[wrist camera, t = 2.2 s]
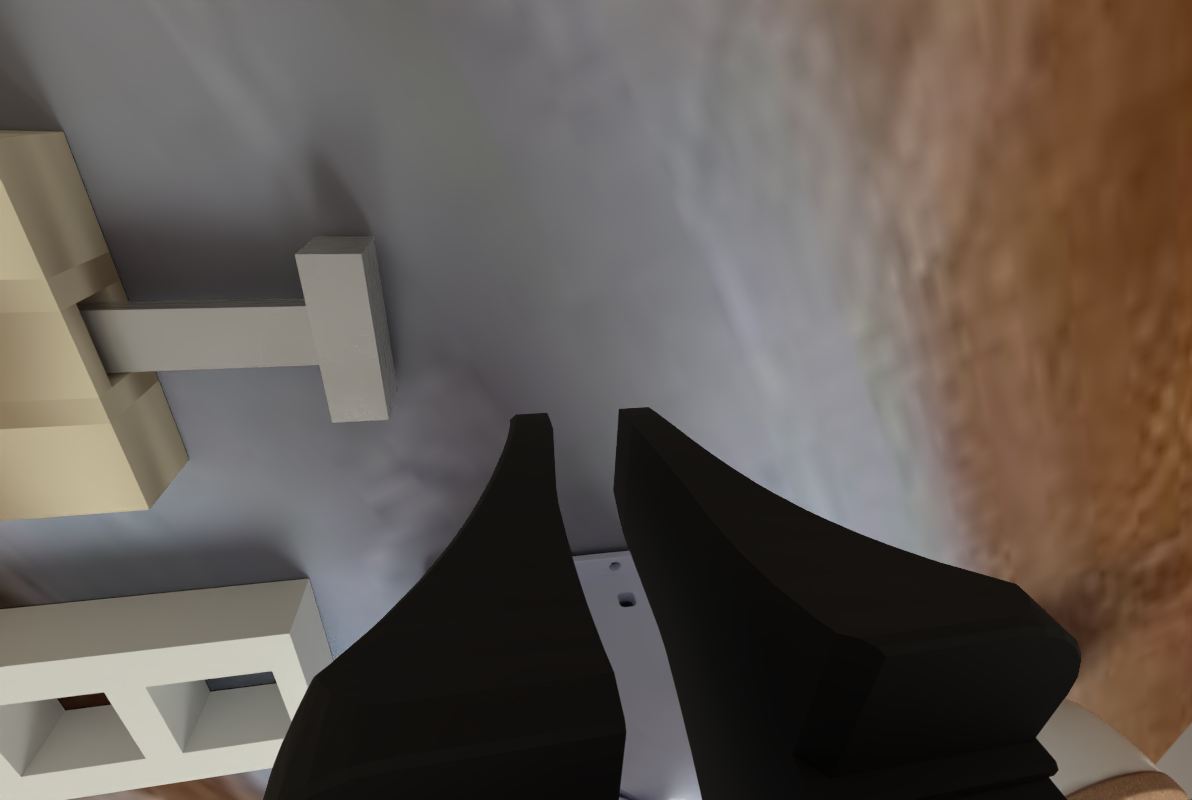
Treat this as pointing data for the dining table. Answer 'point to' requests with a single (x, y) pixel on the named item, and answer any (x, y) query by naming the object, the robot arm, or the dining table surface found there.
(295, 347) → the white t-shaped block
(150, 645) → the rack
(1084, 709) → the lidded jar
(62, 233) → the socket block
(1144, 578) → the dining table surface
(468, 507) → the dining table surface
